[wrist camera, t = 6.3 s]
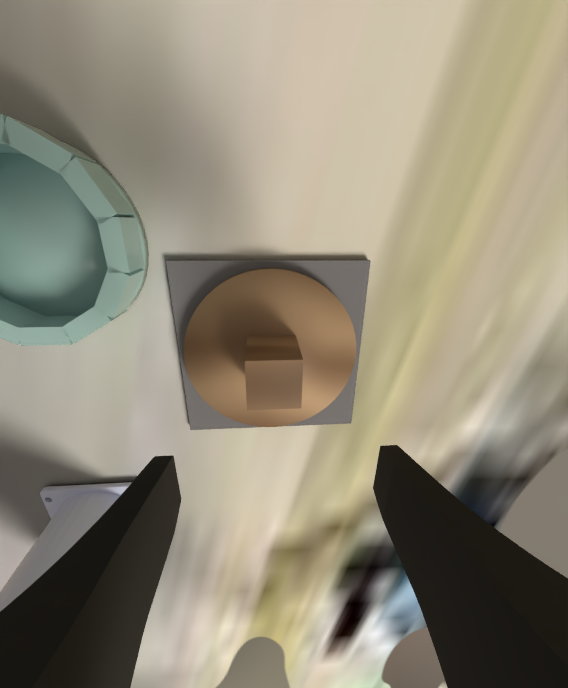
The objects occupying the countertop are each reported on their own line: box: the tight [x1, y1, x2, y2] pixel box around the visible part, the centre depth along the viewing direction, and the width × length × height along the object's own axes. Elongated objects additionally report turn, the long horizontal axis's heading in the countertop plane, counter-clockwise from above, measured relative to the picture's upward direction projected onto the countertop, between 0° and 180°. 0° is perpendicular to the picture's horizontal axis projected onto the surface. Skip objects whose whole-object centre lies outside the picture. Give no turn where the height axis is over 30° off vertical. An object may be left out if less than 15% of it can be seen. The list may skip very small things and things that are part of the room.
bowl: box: [0, 114, 149, 346], centre depth 15 cm, size 10×10×3 cm
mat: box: [166, 260, 370, 430], centre depth 20 cm, size 12×12×1 cm
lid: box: [184, 268, 356, 427], centre depth 17 cm, size 11×11×4 cm
